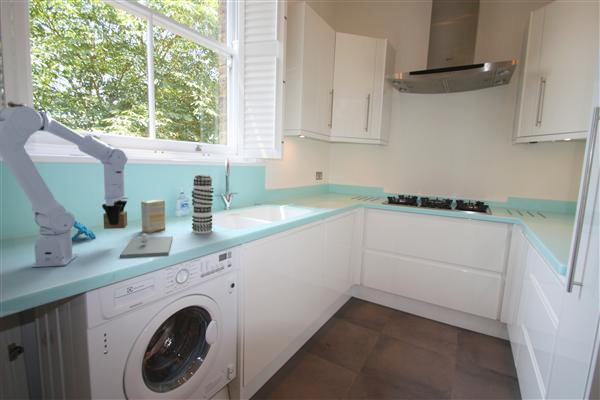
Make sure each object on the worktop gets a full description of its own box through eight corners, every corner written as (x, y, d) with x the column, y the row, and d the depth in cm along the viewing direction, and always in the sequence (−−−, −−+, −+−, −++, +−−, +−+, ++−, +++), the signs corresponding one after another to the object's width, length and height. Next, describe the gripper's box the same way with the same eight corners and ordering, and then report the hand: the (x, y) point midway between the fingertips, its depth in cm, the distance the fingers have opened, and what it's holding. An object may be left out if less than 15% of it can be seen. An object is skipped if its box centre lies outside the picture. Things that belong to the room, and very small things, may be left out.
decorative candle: (217, 231, 130) (217, 175, 126) (197, 234, 123) (197, 175, 119) (206, 227, 136) (207, 174, 132) (187, 230, 129) (187, 174, 126)
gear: (95, 237, 106) (70, 219, 102) (81, 250, 104) (55, 232, 101) (99, 234, 116) (77, 217, 112) (86, 245, 114) (63, 228, 110)
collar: (124, 228, 100) (123, 214, 100) (103, 228, 98) (103, 214, 97) (127, 224, 105) (126, 211, 104) (107, 225, 103) (107, 211, 102)
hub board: (168, 255, 97) (168, 240, 96) (119, 257, 92) (119, 242, 91) (172, 238, 115) (172, 226, 114) (132, 240, 110) (132, 227, 110)
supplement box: (159, 227, 131) (158, 199, 129) (165, 229, 129) (165, 200, 127) (141, 231, 124) (140, 200, 122) (147, 233, 121) (147, 202, 120)
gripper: (123, 186, 94) (124, 227, 96) (131, 182, 107) (132, 218, 109) (97, 186, 92) (99, 228, 93) (109, 182, 105) (111, 218, 107)
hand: (115, 222), depth 101 cm, fingers closed on collar, 5 cm apart
